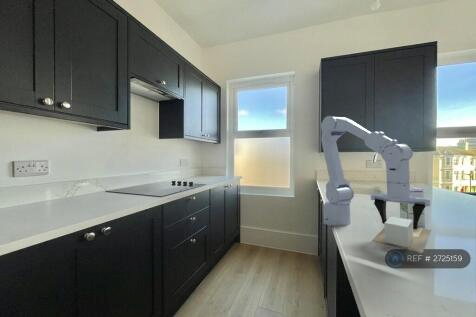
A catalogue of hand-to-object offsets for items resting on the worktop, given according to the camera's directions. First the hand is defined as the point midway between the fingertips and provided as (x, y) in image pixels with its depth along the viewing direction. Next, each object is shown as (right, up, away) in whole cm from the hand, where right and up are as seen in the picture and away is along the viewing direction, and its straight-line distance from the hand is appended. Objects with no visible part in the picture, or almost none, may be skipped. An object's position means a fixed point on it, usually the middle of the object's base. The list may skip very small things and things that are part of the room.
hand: (399, 225), depth 64 cm
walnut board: (+5, -6, +4) cm, 8 cm away
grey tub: (0, -5, 0) cm, 5 cm away
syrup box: (+19, -5, +17) cm, 26 cm away
